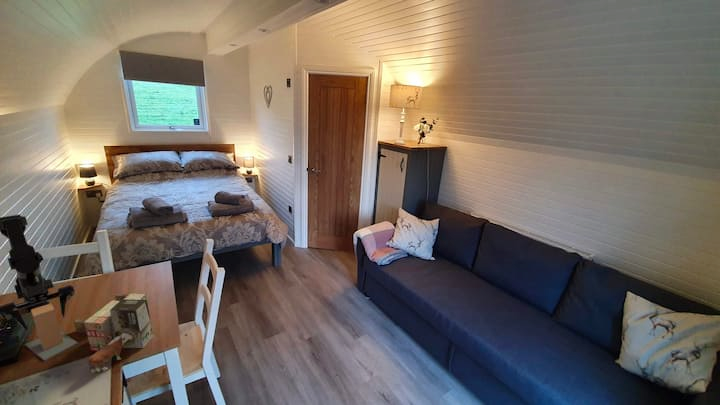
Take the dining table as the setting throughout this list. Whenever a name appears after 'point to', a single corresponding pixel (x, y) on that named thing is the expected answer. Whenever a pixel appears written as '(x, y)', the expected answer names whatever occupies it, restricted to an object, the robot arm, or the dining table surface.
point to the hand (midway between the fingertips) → (45, 323)
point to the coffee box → (132, 322)
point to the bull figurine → (108, 352)
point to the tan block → (47, 326)
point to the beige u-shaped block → (80, 323)
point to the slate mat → (52, 351)
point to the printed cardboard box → (104, 324)
